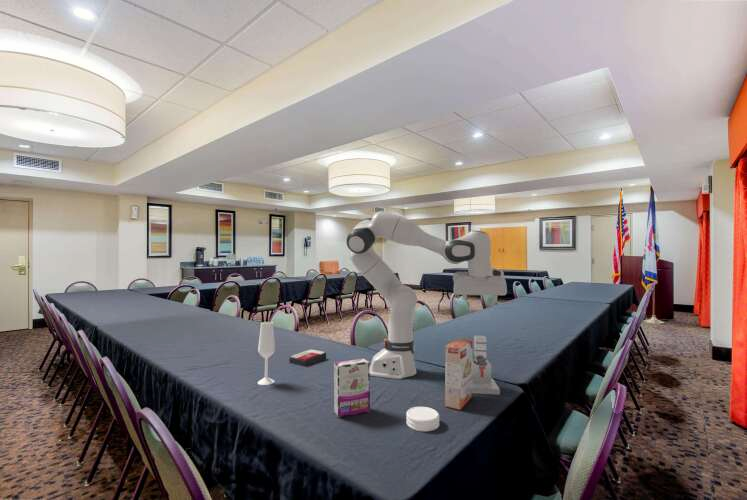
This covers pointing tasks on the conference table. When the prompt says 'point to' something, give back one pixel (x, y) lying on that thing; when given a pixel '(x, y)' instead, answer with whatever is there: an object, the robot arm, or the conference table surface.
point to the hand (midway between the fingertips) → (479, 306)
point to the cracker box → (458, 373)
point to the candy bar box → (351, 387)
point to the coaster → (422, 419)
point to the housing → (483, 378)
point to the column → (479, 348)
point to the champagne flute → (266, 348)
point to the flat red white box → (307, 357)
